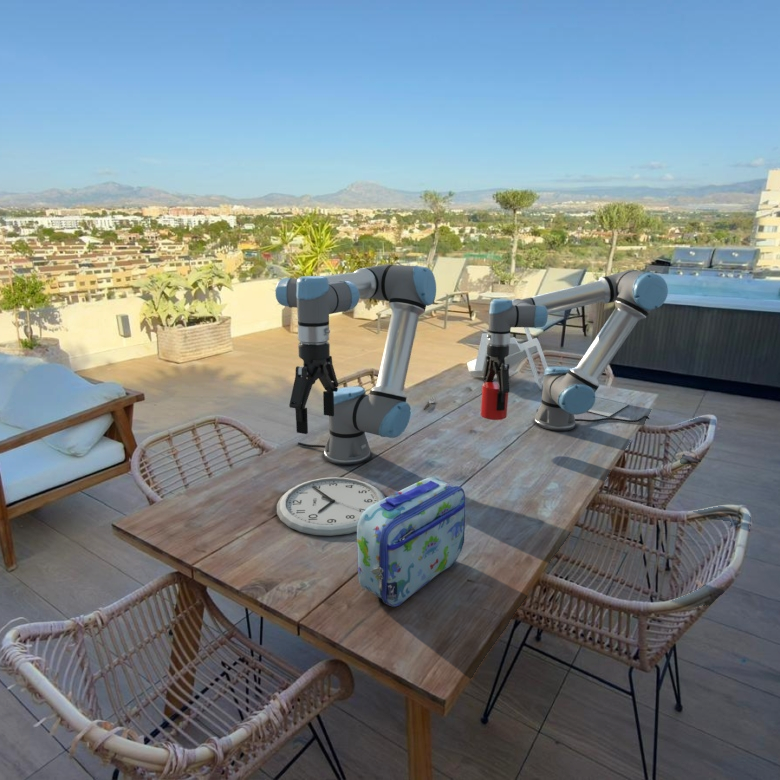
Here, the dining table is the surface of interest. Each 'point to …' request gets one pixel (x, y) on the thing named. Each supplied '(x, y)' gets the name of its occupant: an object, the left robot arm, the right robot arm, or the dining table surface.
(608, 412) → the invitation card
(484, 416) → the canister
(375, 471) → the dining table surface
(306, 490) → the wall clock
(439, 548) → the lunch box
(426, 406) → the fork
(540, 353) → the white plastic object
